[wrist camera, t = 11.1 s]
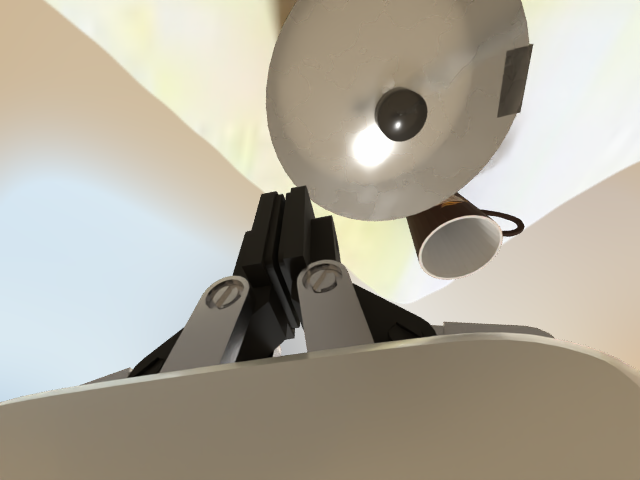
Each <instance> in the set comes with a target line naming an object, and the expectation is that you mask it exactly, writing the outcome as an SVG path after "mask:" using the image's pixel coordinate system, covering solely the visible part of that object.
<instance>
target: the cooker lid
mask: <svg viewBox="0 0 640 480" xmlns="http://www.w3.org/2000/svg"><path fill="white" fill-rule="evenodd" d="M532 48H533V44H529V37H528V28H527V21H526V17H525V13H524V10H523V6H522V2H521V0H298V1H297V2H296V3H295V5H294V6H293V8H292V10H291V12H290V14H289V15H288V17H287V19H286V21H285V23H284V24H283V27H282V29H281V32H280V34H279V37H278V39H277V42H276V44H275V47H274V51H273V55H272V58H271V62H270V66H269V72H268V79H267V87H266V111H267V121H268V128H269V132H270V136H271V140H272V144H273V146H274V149H275V152H276V154H277V157H278V159H279V161H280V163H281V165H282V166H283V168H284V170H285V172H286V173H287V175H288V176H289V177H290V179H291V180H292V182H293V183H294V184H295V185H296V186H297V187H300V186H305V185H306V186H307V189H308V193H309V197H310V199H311V200H312V201H313V202H314V203H316V204H318V205H319V206H321V207H323V208H324V209H326V210H328V211H331V212H333V213H335V214H337V215H340V216H344V217H347V218H351V219H357V220H363V221H386V220H394V219H399V218H404V217H407V216H411V215H414V214H417V213H420V212H422V211H425V210H427V209H429V208H431V207H433V206H435V205H437V204H439V203H441V202H443V201H444V200H446V199H447V198H449V197H450V196H452V195H454V194H455V193H456V192H457V191H459V190H460V189H461V188H463V187H464V186H465V185H466V184H467V183H468V182H470V181H471V180H472V179H473V178H474V177H475V176H476V175H477V174H478V173H479V172H480V171H481V170H482V168H483V167H484V166H485V165H486V164H487V163H488V162H489V160H490V159H491V158H492V156H493V155H494V153H495V152H496V151H497V149H498V148H499V146H500V145H501V143H502V141H503V140H504V138H505V136H506V135H507V133H508V131H509V129H510V127H511V125H512V123H513V120H514V118H515V116H516V114H517V113H519V112H520V111H521V106H522V101H523V95H524V90H525V85H526V79H527V74H528V69H529V64H530V58H531V53H532Z"/></svg>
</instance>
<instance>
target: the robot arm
mask: <svg viewBox="0 0 640 480" xmlns="http://www.w3.org/2000/svg"><path fill="white" fill-rule="evenodd" d="M300 322H301V325H302V327H303V330H304V332H305V339H306V346H307V353H300V354H293V355H285V356H281V347H280V344H281V343H282V342H283V341H284V340H286V339H292V338H294V336H295V328H299V327H300ZM0 480H640V371H638V370H637V369H635V368H634V367H632V366H630V365H629V364H627V363H625V362H624V361H622V360H620V359H618V358H616V357H614V356H612V355H609V354H607V353H605V352H602V351H600V350H597V349H594V348H590V347H587V346H584V345H581V344H577V343H573V342H569V341H565V340H560V339H555V338H554V337H553V336H552V335H550V334H549V333H547V332H545V331H542V330H540V329H538V328H533V327H528V326H518V325H498V324H478V323H477V324H476V323H458V322H443V326H436V325H430V324H429V323H428V322H427V321H425V320H424V319H422V318H421V317H418V316H417V315H415V314H413V313H410V312H409V311H406V310H405V309H403V308H401V307H399V306H397V305H395V304H393V303H391V302H389V301H387V300H385V299H383V298H381V297H379V296H377V295H375V294H373V293H371V292H369V291H367V290H365V289H363V288H361V287H359V286H357V285H355V284H353V283H352V281H351V279H350V276H349V273H348V271H347V269H346V268H345V266H344V265H343V264H341V261H340V253H339V247H338V241H337V236H336V231H335V226H334V222H333V218H332V215H331V216H325V217H320V218H315V216H314V212H313V208H312V204H311V200H310V197H309V193H308V189H307V186H306V185H305V186H300V187H295V188H291V192H290V193H286V200H285V198H284V195H283V194H280V195H278V193H277V192H276V191H275V192H270V193H265V194H262V195H261V197H260V201H259V205H258V208H257V212H256V216H255V219H254V223H253V227H252V230H251V231H247V232H246V233H245V235H244V239H243V242H242V246H241V249H240V252H239V256H238V259H237V262H236V266H235V269H234V273H233V276H229V277H225V278H222V279H220V280H218V281H216V282H215V283H213V284H212V285H211V286H210V287H209V288H207V290H206V291H205V292H204V293H203V295H202V297H201V298H200V300H199V302H198V304H197V306H196V307H195V309H194V311H193V313H192V315H191V317H190V319H189V320H188V322H187V324H186V326H185V327H184V328H183V329H181V330H180V331H179V332H177V333H176V334H175V335H174V336H172V337H171V338H170V339H168V340H167V341H166V342H165V343H163V344H162V345H161V346H160V347H158V348H157V349H156V350H154V351H153V352H152V353H151V354H149V355H148V356H146V357H145V358H144V359H143V360H142V361H141V362H139V363H138V364H137V365H136V366H135V368H134V369H131V368H127V369H124V370H122V371H119V372H116V373H113V374H110V375H107V376H105V377H102V378H99V379H96V380H93V381H91V382H88V383H85V384H82V385H79V386H75V387H69V388H62V389H57V390H51V391H46V392H41V393H36V394H32V395H27V396H22V397H18V398H14V399H11V400H7V401H3V402H0Z"/></svg>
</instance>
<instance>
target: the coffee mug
mask: <svg viewBox="0 0 640 480" xmlns="http://www.w3.org/2000/svg"><path fill="white" fill-rule="evenodd" d="M487 215H490V216H496V217H501V218H504V219H507V220H510V221H513V222H514V223H516V224H517V226H518V227H517V228H516V229H514V230H511V231H501V228H500V226H499V225H498V224H497V223H496V222H495V221H494V220H492V219H491V218H490V217H489V216H487ZM406 218H407V222H408V225H409V229H410V232H411V236H412V239H413V243H414V246H415V250H416V253H417V257H418V260H419V263H420V266H421V268H422V269H423V271H424V272H425V273H427V274H428V275H430V276H432V277H434V278H438V279H444V280H451V279H459V278H463V277H466V276H469V275H471V274H474V273H476V272H477V271H479V270H481V269H482V268H484V267H485V266H486V265H488V264H489V263H490V262H491V261H492V260H493V259H494V257H496V255H497V253H498V252H499V250H500V248H501V245H502V240H503V236H506V237H510V236H514V235H517V234H520V233H521V232H522V231H523V230H524V224H523V222H522V221H521V220H520V219H518V218H516V217H514V216H511V215H508V214H504V213H500V212H495V211H488V210H480V209H478V208H477V207H476V206H474V205H473V204H472V203H470V202H469V201H468V200H466V199H465V198H464V197H463V196H461V195H460V194H459V193H457V192H456V193H455V194H454V195H452V196H450V197H449V198H447V199H446V200H444V201H443V202H441V203H439V204H437V205H435V206H433V207H431V208H429V209H427V210H425V211H422V212H420V213H417V214H414V215H411V216H407V217H406Z"/></svg>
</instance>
